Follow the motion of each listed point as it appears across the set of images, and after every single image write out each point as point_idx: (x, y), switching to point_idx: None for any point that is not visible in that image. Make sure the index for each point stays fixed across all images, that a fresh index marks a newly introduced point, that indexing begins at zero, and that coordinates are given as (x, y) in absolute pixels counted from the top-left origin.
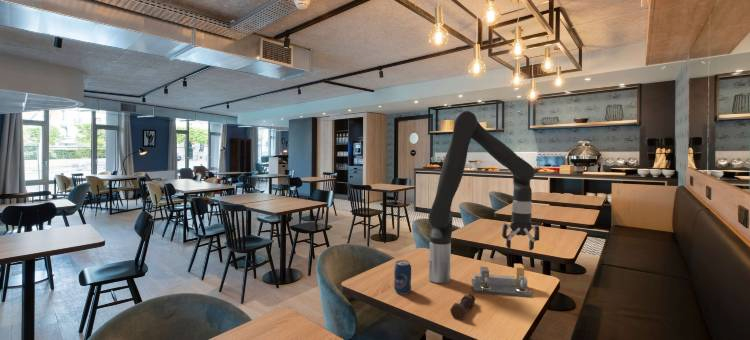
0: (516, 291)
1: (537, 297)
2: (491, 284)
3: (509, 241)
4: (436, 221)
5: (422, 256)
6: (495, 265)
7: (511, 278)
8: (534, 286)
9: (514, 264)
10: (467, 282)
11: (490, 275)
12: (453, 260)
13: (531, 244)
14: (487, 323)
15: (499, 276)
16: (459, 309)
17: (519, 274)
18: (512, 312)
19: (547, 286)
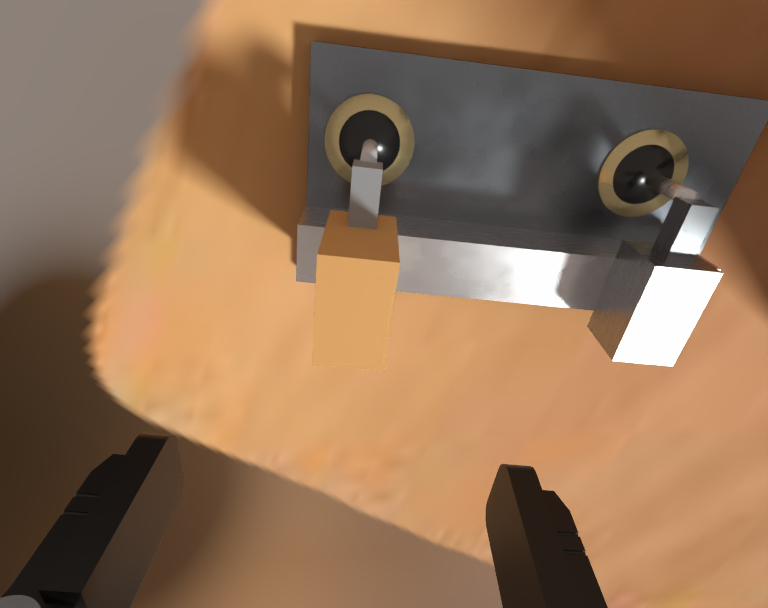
0: (423, 104)
1: (268, 40)
2: (571, 228)
3: (571, 601)
4: None
5: (758, 582)
6: (398, 514)
7: (427, 244)
8: (241, 251)
9: (385, 357)
10: None
11: (580, 292)
12: (612, 552)
13: (97, 529)
14: None
15: (513, 277)
16: None
17: (370, 230)
18: None
19: (147, 258)
